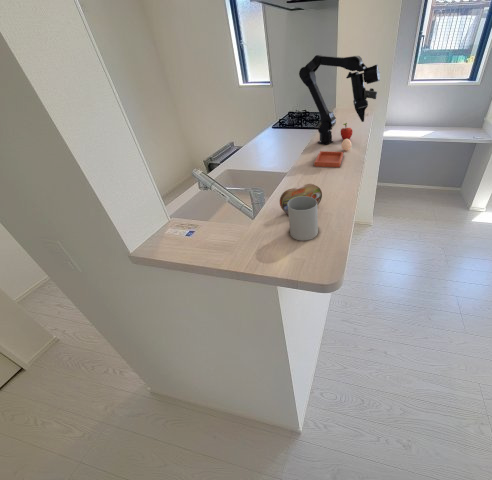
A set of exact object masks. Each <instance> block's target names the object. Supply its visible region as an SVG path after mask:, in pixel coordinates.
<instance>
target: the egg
mask: <svg viewBox="0 0 492 480" xmlns="http://www.w3.org/2000/svg"><path fill="white" fill-rule="evenodd" d="M351 148H352V142H351V140H350V139H345V140H343V139H342V142H341V149H342V150H343V151H345V152H347V151H349V150H350V149H351Z"/></svg>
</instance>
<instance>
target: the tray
mask: <svg viewBox="0 0 492 480" xmlns="http://www.w3.org/2000/svg"><path fill="white" fill-rule="evenodd" d="M343 157H344V151H327V150H325V151H324V150H320V151H319V153H318V154H317V156H316V158H315V160H314V162H313V163H314V167H318V168H319V167H324V168H340V167H341V164H342V161H343V159H344V158H343Z"/></svg>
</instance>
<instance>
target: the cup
mask: <svg viewBox="0 0 492 480" xmlns="http://www.w3.org/2000/svg"><path fill="white" fill-rule="evenodd" d="M318 212H319V211H318V205H317V201H316V200H315V199H314V198H312V197H308V196H300V197H295V198H293V199H291V200H289V202H288V214H287V215H288V223H289V233H290V237H291V238H293V239H294V240H297V241H304V242H305V241H310V240H313V239H314V238H316V237H317V235H318V233H319V216H318V214H319V213H318Z"/></svg>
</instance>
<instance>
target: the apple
mask: <svg viewBox="0 0 492 480" xmlns="http://www.w3.org/2000/svg"><path fill="white" fill-rule="evenodd" d="M342 125H343V126H344V127H342V128H340V131H339V132H340V136H341V139H342V141H343V140H345V139H349V140H350V139H351V138H352V136H353V133H354V132H353V128H352V127H347V125H348V123H347V122H345V123H343V124H342Z"/></svg>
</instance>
